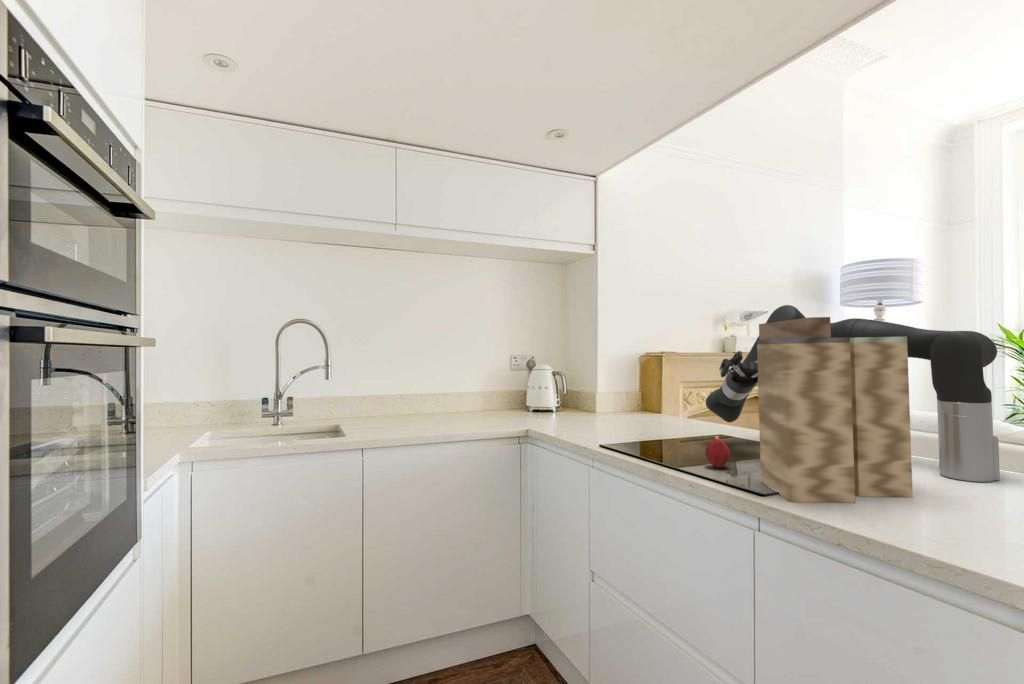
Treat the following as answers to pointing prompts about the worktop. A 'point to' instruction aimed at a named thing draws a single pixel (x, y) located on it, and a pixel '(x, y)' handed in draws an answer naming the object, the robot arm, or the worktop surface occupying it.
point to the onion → (717, 452)
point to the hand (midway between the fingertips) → (758, 353)
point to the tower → (881, 417)
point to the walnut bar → (796, 329)
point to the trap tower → (806, 418)
